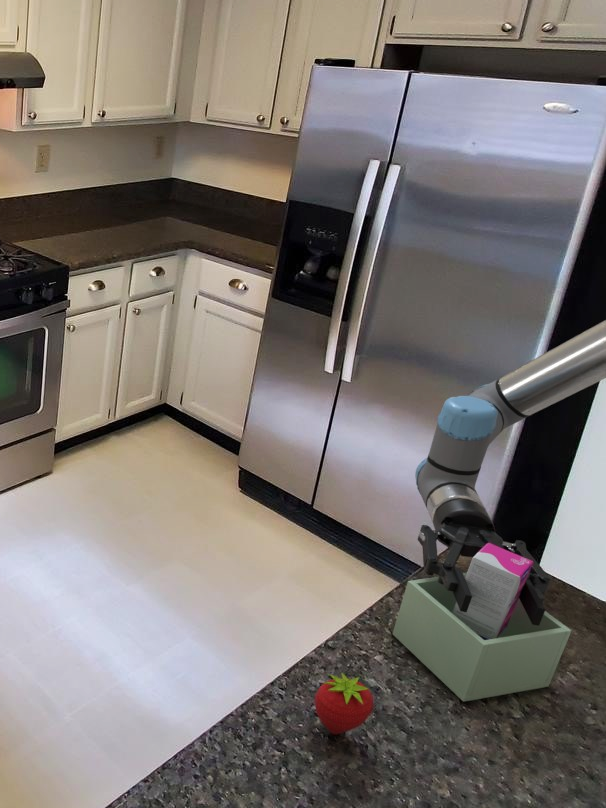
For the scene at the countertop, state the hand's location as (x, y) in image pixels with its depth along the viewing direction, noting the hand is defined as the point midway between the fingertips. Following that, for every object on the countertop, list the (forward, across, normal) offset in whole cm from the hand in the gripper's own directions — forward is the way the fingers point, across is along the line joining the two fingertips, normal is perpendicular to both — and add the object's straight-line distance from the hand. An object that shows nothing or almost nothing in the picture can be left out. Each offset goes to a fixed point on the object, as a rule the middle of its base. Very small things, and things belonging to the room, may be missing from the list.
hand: (502, 610), depth 104 cm
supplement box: (-5, 0, -7) cm, 8 cm away
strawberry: (+16, +19, -13) cm, 28 cm away
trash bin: (-5, 0, -13) cm, 13 cm away
